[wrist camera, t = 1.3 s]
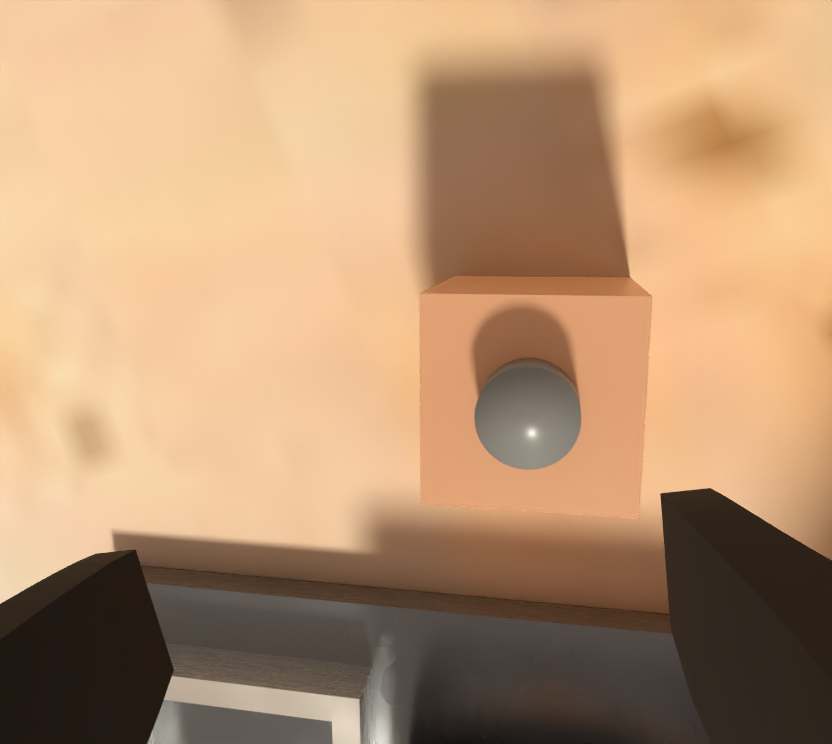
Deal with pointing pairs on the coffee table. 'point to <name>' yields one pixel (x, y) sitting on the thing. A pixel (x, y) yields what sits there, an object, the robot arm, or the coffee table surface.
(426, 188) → the coffee table surface
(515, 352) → the cube with grey knob
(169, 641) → the motor mount
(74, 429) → the coffee table surface
